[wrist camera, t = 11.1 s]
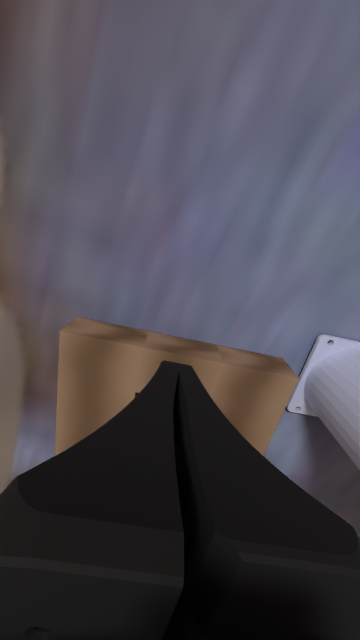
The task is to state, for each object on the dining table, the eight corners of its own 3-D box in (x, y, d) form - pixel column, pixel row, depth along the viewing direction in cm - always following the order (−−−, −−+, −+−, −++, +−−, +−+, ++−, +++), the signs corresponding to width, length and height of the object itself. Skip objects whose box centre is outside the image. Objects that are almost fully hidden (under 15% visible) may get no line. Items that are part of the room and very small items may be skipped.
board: (282, 358, 20) (299, 377, 17) (236, 468, 25) (243, 498, 22) (78, 317, 19) (59, 331, 16) (69, 441, 23) (54, 469, 21)
